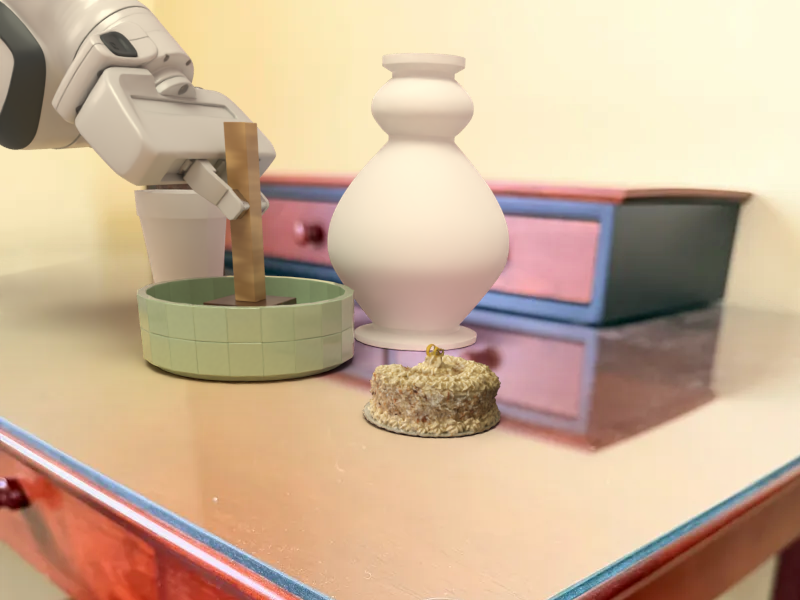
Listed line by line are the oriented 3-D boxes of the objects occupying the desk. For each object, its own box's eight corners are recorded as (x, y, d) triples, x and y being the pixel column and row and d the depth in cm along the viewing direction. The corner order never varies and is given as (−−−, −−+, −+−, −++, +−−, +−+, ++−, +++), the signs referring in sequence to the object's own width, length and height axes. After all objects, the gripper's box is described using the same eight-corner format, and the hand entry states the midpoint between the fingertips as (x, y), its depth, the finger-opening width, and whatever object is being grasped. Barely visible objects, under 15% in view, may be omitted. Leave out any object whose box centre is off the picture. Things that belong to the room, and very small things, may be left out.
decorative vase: (322, 354, 76) (317, 42, 66) (334, 320, 92) (331, 64, 82) (513, 359, 77) (538, 49, 66) (491, 323, 93) (509, 70, 82)
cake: (528, 426, 59) (539, 353, 57) (430, 457, 53) (438, 377, 50) (431, 387, 65) (437, 319, 63) (333, 411, 59) (336, 337, 56)
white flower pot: (191, 307, 97) (181, 188, 92) (251, 316, 93) (244, 192, 88) (129, 319, 90) (114, 190, 84) (191, 329, 86) (180, 194, 80)
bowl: (115, 381, 66) (105, 304, 63) (175, 335, 83) (169, 273, 80) (346, 387, 66) (345, 310, 63) (359, 339, 83) (359, 278, 80)
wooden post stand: (204, 320, 71) (187, 120, 65) (239, 309, 76) (227, 123, 70) (265, 325, 70) (254, 121, 63) (297, 314, 75) (290, 124, 68)
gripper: (189, 117, 78) (285, 231, 80) (35, 104, 61) (161, 250, 62) (226, 62, 75) (326, 182, 76) (75, 33, 58) (207, 189, 59)
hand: (251, 213), depth 69 cm, fingers closed on wooden post stand
